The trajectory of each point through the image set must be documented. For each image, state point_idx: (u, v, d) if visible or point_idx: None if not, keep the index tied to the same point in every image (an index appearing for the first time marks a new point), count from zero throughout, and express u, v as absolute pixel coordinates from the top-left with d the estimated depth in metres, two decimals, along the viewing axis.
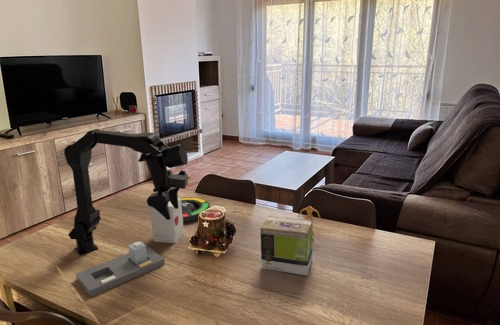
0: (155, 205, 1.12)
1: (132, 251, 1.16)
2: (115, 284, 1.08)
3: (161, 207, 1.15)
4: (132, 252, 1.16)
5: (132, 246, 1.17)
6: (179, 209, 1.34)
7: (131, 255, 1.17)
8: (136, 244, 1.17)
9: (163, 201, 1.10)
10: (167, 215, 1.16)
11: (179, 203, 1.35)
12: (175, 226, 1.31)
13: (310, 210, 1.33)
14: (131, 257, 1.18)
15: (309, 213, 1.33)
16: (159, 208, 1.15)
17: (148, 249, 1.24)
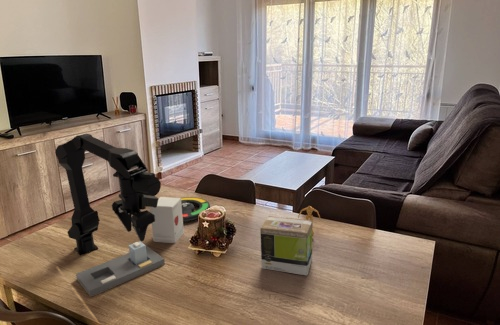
0: (141, 225, 1.08)
1: (132, 251, 1.16)
2: (115, 284, 1.08)
3: (140, 228, 1.10)
4: (132, 252, 1.16)
5: (132, 246, 1.17)
6: (179, 209, 1.34)
7: (131, 255, 1.17)
8: (136, 244, 1.17)
9: (153, 220, 1.09)
10: (143, 236, 1.12)
11: (179, 203, 1.35)
12: (175, 226, 1.31)
13: (310, 210, 1.33)
14: (131, 257, 1.18)
15: (309, 213, 1.33)
16: (139, 229, 1.10)
17: (148, 249, 1.24)
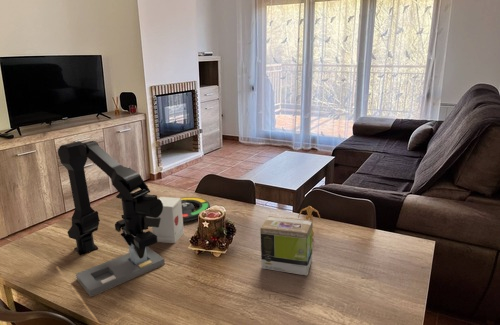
0: None
1: (132, 251, 1.16)
2: (115, 284, 1.08)
3: None
4: (132, 252, 1.16)
5: (132, 246, 1.17)
6: (179, 209, 1.34)
7: (131, 255, 1.17)
8: None
9: (156, 241, 1.11)
10: (142, 253, 1.16)
11: (179, 203, 1.35)
12: (175, 226, 1.31)
13: (310, 210, 1.33)
14: (131, 257, 1.18)
15: (309, 213, 1.33)
16: None
17: (148, 249, 1.24)
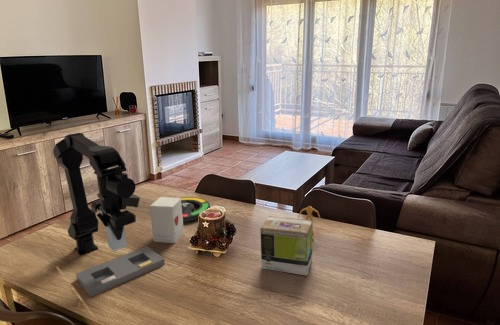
0: None
1: (109, 232, 1.09)
2: (115, 284, 1.08)
3: None
4: (109, 233, 1.10)
5: (109, 227, 1.10)
6: (179, 209, 1.34)
7: (108, 237, 1.11)
8: None
9: (134, 220, 1.04)
10: (120, 234, 1.09)
11: (179, 203, 1.35)
12: (175, 226, 1.31)
13: (310, 210, 1.33)
14: (108, 239, 1.11)
15: (309, 213, 1.33)
16: (115, 227, 1.07)
17: (148, 249, 1.24)
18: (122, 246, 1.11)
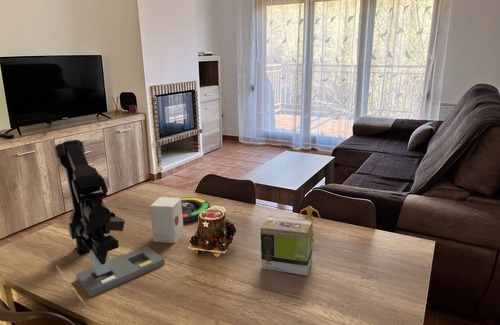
0: None
1: (93, 257, 1.07)
2: (115, 284, 1.08)
3: None
4: (93, 258, 1.08)
5: None
6: (179, 209, 1.34)
7: (92, 261, 1.09)
8: None
9: (117, 246, 1.02)
10: (104, 259, 1.07)
11: (179, 203, 1.35)
12: (175, 226, 1.31)
13: (310, 210, 1.33)
14: (92, 263, 1.09)
15: (309, 213, 1.33)
16: None
17: (148, 249, 1.24)
18: (106, 270, 1.09)
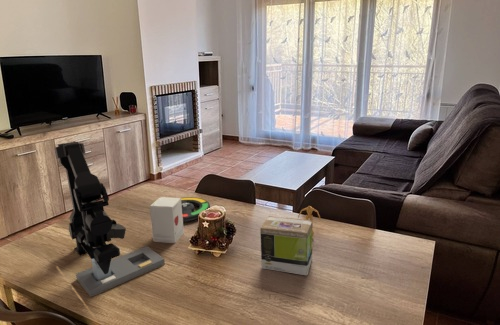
0: None
1: (94, 266, 1.08)
2: (115, 284, 1.08)
3: (103, 261, 1.05)
4: (94, 267, 1.08)
5: (94, 260, 1.09)
6: (179, 209, 1.34)
7: (94, 270, 1.10)
8: None
9: (118, 254, 1.03)
10: (107, 269, 1.07)
11: (179, 203, 1.35)
12: (175, 226, 1.31)
13: (310, 210, 1.33)
14: (94, 272, 1.10)
15: (309, 213, 1.33)
16: (102, 262, 1.05)
17: (148, 249, 1.24)
18: None
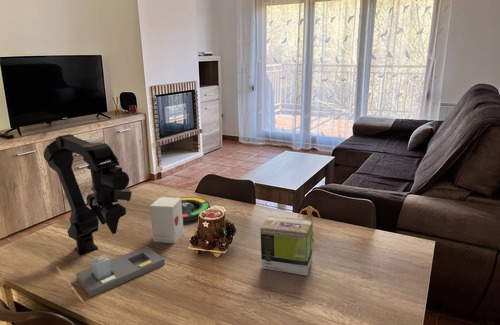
0: (112, 218, 1.09)
1: (94, 266, 1.08)
2: (115, 284, 1.08)
3: (112, 220, 1.12)
4: (94, 267, 1.08)
5: (94, 260, 1.09)
6: (179, 209, 1.34)
7: (94, 270, 1.10)
8: (99, 258, 1.09)
9: (124, 213, 1.10)
10: (115, 229, 1.13)
11: (179, 203, 1.35)
12: (175, 226, 1.31)
13: (310, 210, 1.33)
14: (94, 272, 1.10)
15: (309, 213, 1.33)
16: (110, 222, 1.11)
17: (148, 249, 1.24)
18: None
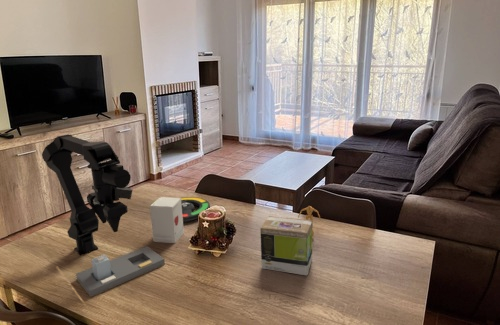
0: (113, 216, 1.10)
1: (94, 266, 1.08)
2: (115, 284, 1.08)
3: (113, 219, 1.12)
4: (94, 267, 1.08)
5: (94, 260, 1.09)
6: (179, 209, 1.34)
7: (94, 270, 1.10)
8: (99, 258, 1.09)
9: (126, 211, 1.11)
10: (116, 227, 1.14)
11: (179, 203, 1.35)
12: (175, 226, 1.31)
13: (310, 210, 1.33)
14: (94, 272, 1.10)
15: (309, 213, 1.33)
16: (111, 220, 1.12)
17: (148, 249, 1.24)
18: None
